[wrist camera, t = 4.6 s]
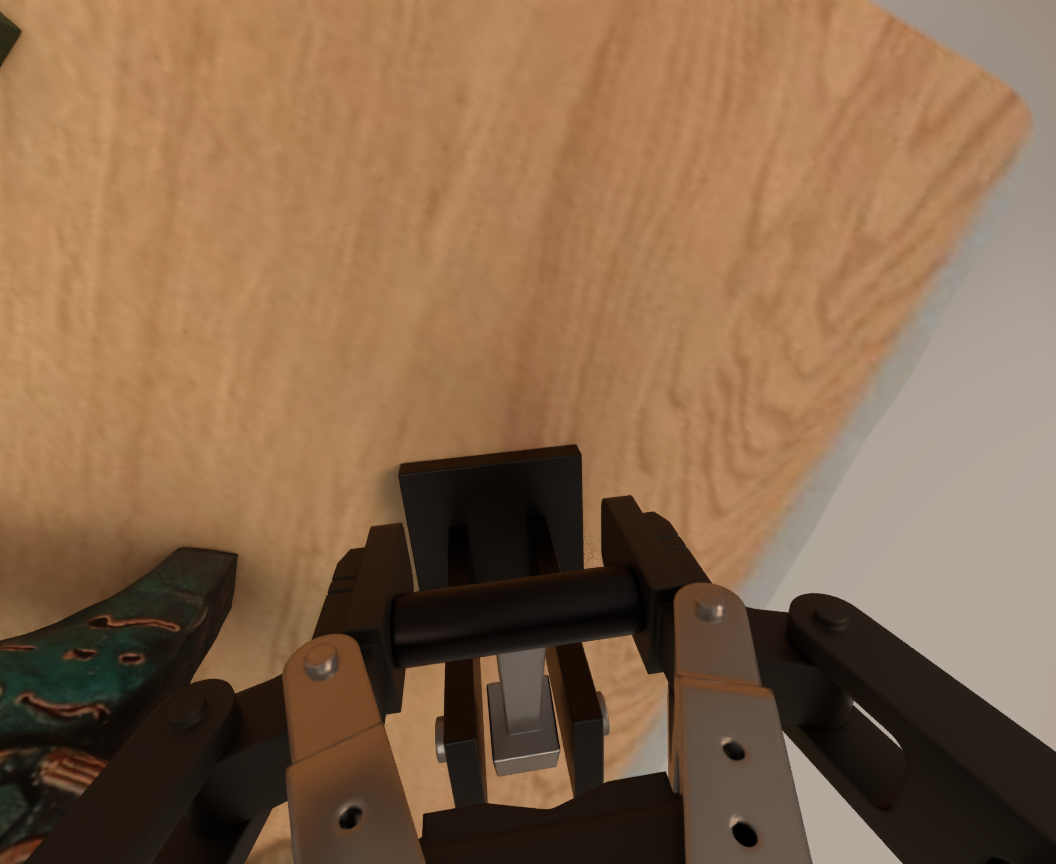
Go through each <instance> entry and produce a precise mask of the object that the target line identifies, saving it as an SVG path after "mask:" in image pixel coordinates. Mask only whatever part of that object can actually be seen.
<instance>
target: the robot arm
mask: <svg viewBox="0 0 1056 864" xmlns="http://www.w3.org/2000/svg"><path fill="white" fill-rule="evenodd" d="M601 551H602V559H603V564H604V566H611V565H619V564H627V565H629V566H630V567H631V569H632V570H633V572H634V574H635V577H636V579H637V582H638V585H639V589H640V593H641V597H642V604H643V613H644V621H643V628H642V631H641V632H640V633H638V634H634V635H632V637H633V639H634V641H635V644H636V646H637V649H638V651H639V653H640V656H641V658H642V661H643V663H644V665H645V668H646V670H647V673H648V674H654V673H661V672H664V674H665V676H666V678H667V681H668V695H667V708H668V776H667V774H666V772H659V773H653V774H648V775H642V776H636V777H630V778H625V779H619V780H613V781H608V782H606V783H604V784H602V785H600V786H598V787H596V788H594V789H592V790H590V791H588V792H586V793H584V794H582V795H579V796H577V797H575V798H573V799H571V800H569V801H567V802H565V803H563V804H561V805H559V806H557V807H555V808H552V809H536V808H527V807H517V806H508V805H498V804H489V803H482V804H477V805H471V806H465V807H460V808H454V809H448V810H443V811H437V812H431V813H425V814H423V829H422V837H421V838H419V839H418V836H417V832H416V829H415V826H414V822H413V819H412V816H411V812H410V809H409V806H408V803H407V799H406V796H405V793H404V789H403V786H402V783H401V779H400V776H399V773H398V770H397V766H396V763H395V760H394V756H393V753H392V750H391V746H390V743H389V740H388V736H387V733H386V730H385V727H384V725H385V718H386V714H393V713H399V712H401V707H402V698H403V689H404V679H405V670H406V668H404V669H401V668H398V666H397V665H396V662H395V659H394V655H393V650H392V641H391V610H392V604H393V600H394V597H395V596H396V595H398V594H403V593H411V592H414V586H413V575H412V569H411V564H410V558H409V553H408V548H407V542H406V537H405V532H404V527H403V525H402V523H394V524H386V525H378V526H372V527H371V528H370V531H369V535H368V538H367V542H366V546H365V547H364V548H356V549H350V550H349V551H348V552H347V554H346V555H345V556H344V557H343V558H342V559H341V560H340V561H339V562H338V563H337V566H336V569H335V572H334V575H333V578H332V582H331V584H330V587H329V590H328V595H327V596H326V599H325V602H324V604H323V607H322V610H321V613H320V616H319V619H318V622H317V625H316V628H315V631H314V634H313V637H312V640H311V641H309V642H307V643H305V644H304V645H303V646H301V647H300V648H298V649H297V650H296V651H295V652H294V653H293V654H292V655H291V656H290V658H289V659H288V661H287V662H286V664H285V666H284V669H283V673H282V674H281V675H279V676H277V677H275V678H273V679H271V680H269V681H266V682H264V683H261V684H259V685H256V686H254V687H251V688H249V689H246V690H243V691H241V692H238V693H236V694H235V693H234V690H233V688H232V686H231V685H230V684H229V683H228V682H226V681H223V680H220V679H207V680H202V681H198V682H195V683H192V684H190V685H187V686H185V687H183V688H181V689H179V690H177V691H176V692H174V693H173V694H171V695H170V696H168V697H167V698H166V699H164V700H163V701H162V702H161V703H160V704H159V705H158V706H157V707H156V708H155V709H154V710H153V711H152V712H151V713H150V714H149V716H148V717H147V718H146V719H145V720H144V722H143V723H142V724H141V725H140V726H139V727H138V729H137V730H136V731H135V732H134V733H133V734H132V736H131V737H130V738H129V739H128V740H127V742H126V743H125V744H124V745H123V746H122V747H121V749H120V750H119V751H118V752H117V753H116V754H115V756H114V757H113V758H112V759H111V760H110V762H109V763H108V764H107V765H106V766H105V767H104V769H103V770H102V771H101V772H100V773H99V775H98V776H97V777H96V778H95V779H94V780H93V782H92V783H91V784H90V785H89V786H88V787H87V789H86V790H85V791H84V792H83V793H82V795H81V796H80V797H79V798H78V799H77V800H76V802H75V803H74V804H73V805H72V806H71V807H70V809H69V810H68V811H67V812H66V813H65V815H64V816H63V817H62V818H61V819H60V820H59V822H58V823H57V824H56V825H55V826H54V828H53V829H52V830H51V831H50V832H49V833H48V835H47V836H46V837H45V838H44V839H43V840H42V842H41V843H40V844H39V845H38V846H37V848H36V849H35V850H34V851H33V852H32V853H31V855H30V856H29V857H28V858H27V859H26V860H25V862H24V863H23V864H244V863H245V861H246V859H247V857H248V855H249V854H250V852H251V850H252V848H253V846H254V844H255V842H256V840H257V838H258V836H259V834H260V832H261V830H262V828H263V826H264V824H265V822H266V820H267V818H268V816H269V814H270V812H271V810H272V808H274V807H276V806H278V805H280V804H282V803H284V802H286V801H288V807H289V818H290V828H291V839H292V850H293V860H294V864H812V859H811V855H810V850H809V846H808V842H807V837H806V833H805V829H804V824H803V820H802V815H801V811H800V806H799V802H798V798H797V793H796V789H795V784H794V780H793V776H792V771H791V767H790V762H789V758H788V754H787V749H786V745H785V740H784V737H783V732H782V730H783V731H784V733H785V734H786V735H787V736H788V737H789V738H790V739H791V740H792V741H793V743H794V744H795V745H796V746H797V747H798V748H799V749H800V750H801V751H802V752H803V754H804V755H805V756H806V757H807V758H808V759H809V760H810V761H811V763H812V764H813V765H814V766H815V767H816V768H817V769H818V770H819V771H820V772H821V774H822V775H823V776H824V777H825V778H826V779H827V780H828V781H829V782H830V784H831V785H832V786H833V787H834V788H835V789H836V790H837V791H838V792H839V794H840V795H841V796H842V797H843V798H844V799H845V800H846V801H847V802H848V804H849V805H851V807H852V808H853V809H854V810H855V811H856V812H857V813H858V815H859V816H860V817H861V818H862V819H863V820H864V821H865V822H866V823H867V824H868V826H869V827H870V828H871V829H872V830H873V831H874V832H875V833H876V834H877V836H878V837H879V838H880V839H881V840H882V841H883V842H884V843H885V845H886V846H887V847H888V848H889V849H890V850H891V851H892V852H893V853H894V854H895V855H896V857H897V858H898V859H899V860H900V861H901V862H902V863H903V864H1056V752H1055V751H1054V750H1052V749H1051V748H1050V747H1048V746H1047V745H1046V744H1044V743H1043V742H1042V741H1040V740H1039V739H1037V738H1036V737H1035V736H1033V735H1032V734H1031V733H1029V732H1028V731H1026V730H1025V729H1024V728H1022V727H1020V726H1019V725H1018V724H1017V723H1015V722H1014V721H1013V720H1011V719H1010V718H1008V717H1007V716H1005V715H1004V714H1003V713H1001V712H1000V711H999V710H997V709H996V708H995V707H993V706H992V705H990V704H989V703H988V702H986V701H985V700H984V699H982V698H981V697H979V696H978V695H977V694H975V693H974V692H972V691H971V690H970V689H968V688H967V687H966V686H964V685H963V684H961V683H960V682H959V681H957V680H956V679H954V678H953V677H952V676H950V675H949V674H948V673H946V672H945V671H943V670H942V669H941V668H939V667H938V666H937V665H935V664H933V663H932V662H931V661H929V660H928V659H927V658H925V657H924V656H923V655H921V654H920V653H919V652H917V651H916V650H914V649H913V648H911V647H910V646H909V645H908V644H906V643H905V642H903V641H902V640H901V639H899V638H898V637H896V636H895V635H894V634H892V633H891V632H890V631H888V630H887V629H885V628H884V627H882V626H881V625H880V624H878V623H877V622H876V621H874V620H873V619H872V618H870V617H869V616H867V615H866V614H865V613H863V612H862V611H861V610H859V609H858V608H856V607H855V606H853V605H852V604H850V603H848V602H846V601H844V600H842V599H840V598H837V597H834V596H831V595H826V594H819V593H809V594H804V595H800V596H798V597H796V598H795V599H794V600H793V601H792V602H791V604H790V608H789V613H788V612H778V611H769V610H760V609H753V608H749V607H745V605H744V603H743V602H742V600H741V599H740V598H739V597H738V596H737V595H736V594H735V593H733V592H732V591H730V590H728V589H726V588H724V587H722V586H719V585H715V584H712V583H711V581H710V580H709V578H708V577H707V575H706V574H705V573H704V571H703V570H702V568H701V567H700V565H699V564H698V562H697V561H696V559H695V558H694V557H693V555H692V554H691V552H690V551H689V549H688V548H686V546H685V544H684V542H683V541H682V539H681V538H680V537H678V533H677V532H676V531H675V529H674V528H673V526H672V525H671V523H670V522H669V521H668V520H666V519H665V518H663V517H661V516H660V515H658V514H657V513H655V512H646V513H642V511H641V509H640V508H639V506H638V505H637V503H636V501H635V500H634V498H633V497H632V496H631V495H628V496H620V497H611V498H603V499H602V503H601ZM853 701H855V702H856V703H858V705H860V706H861V707H862V708H863V709H864V710H865V711H866V712H867V713H869V715H871V716H872V717H873V718H874V719H875V720H876V721H877V722H878V723H879V724H881V725H882V726H883V727H884V728H885V729H886V730H887V731H889V733H890V734H892V736H893V737H894V738H895V739H896V740H897V742H898V743H899V745H900V746H901V748H902V749H901V748H900V747H898V745H896V744H895V743H894V742H893V741H892V740H891V739H890V738H889V737H888V736H887V735H885V734H884V733H883V732H882V731H881V730H880V729H879V728H878V727H877V726H876V725H874V724H873V723H872V722H871V721H870V720H869V719H868V718H867V717H866V716H865V715H863V714H862V713H861V712H860V711H859V710H858V709H857V708H856V707H855V706H854V705H853Z"/></svg>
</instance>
